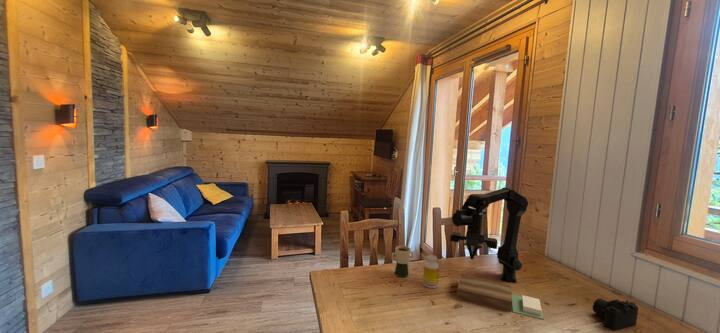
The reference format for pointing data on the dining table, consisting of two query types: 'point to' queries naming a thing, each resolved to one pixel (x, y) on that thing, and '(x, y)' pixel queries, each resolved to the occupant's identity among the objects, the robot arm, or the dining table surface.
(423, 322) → the dining table surface
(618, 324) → the film camera
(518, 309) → the mat
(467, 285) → the deck
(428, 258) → the supplement bottle
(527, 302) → the white rectangular block
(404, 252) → the character mug
